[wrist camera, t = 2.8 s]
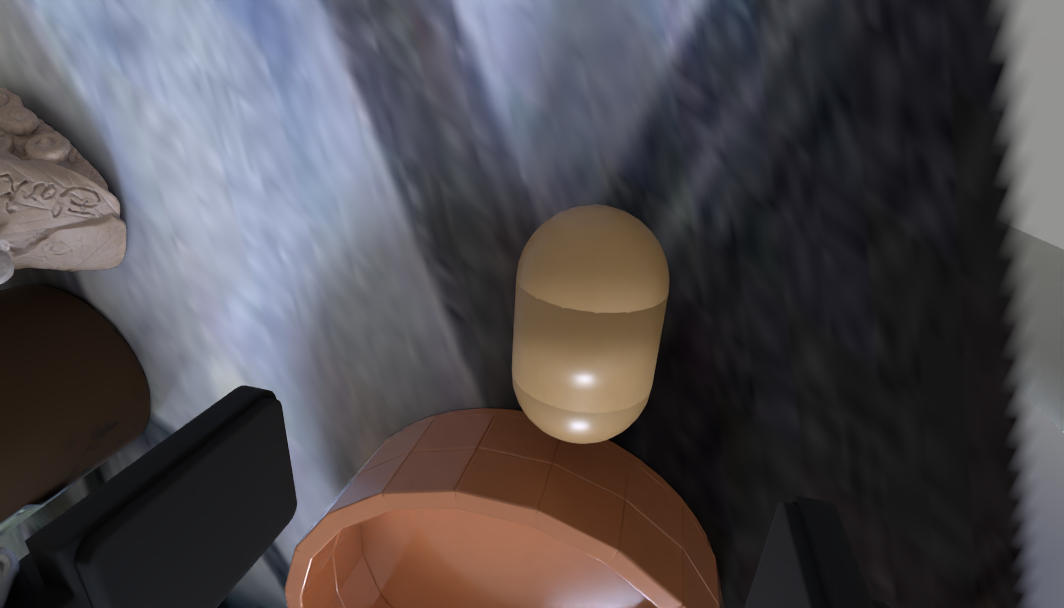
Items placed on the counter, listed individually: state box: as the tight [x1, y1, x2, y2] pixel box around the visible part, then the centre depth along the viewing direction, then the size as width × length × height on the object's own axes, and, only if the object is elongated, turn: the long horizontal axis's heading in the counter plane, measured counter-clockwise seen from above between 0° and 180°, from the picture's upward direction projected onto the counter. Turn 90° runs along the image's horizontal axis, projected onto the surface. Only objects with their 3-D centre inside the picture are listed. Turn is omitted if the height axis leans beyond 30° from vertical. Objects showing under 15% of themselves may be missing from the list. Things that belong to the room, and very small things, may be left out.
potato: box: [512, 205, 670, 444], centre depth 17 cm, size 8×5×5 cm, turn 177°
